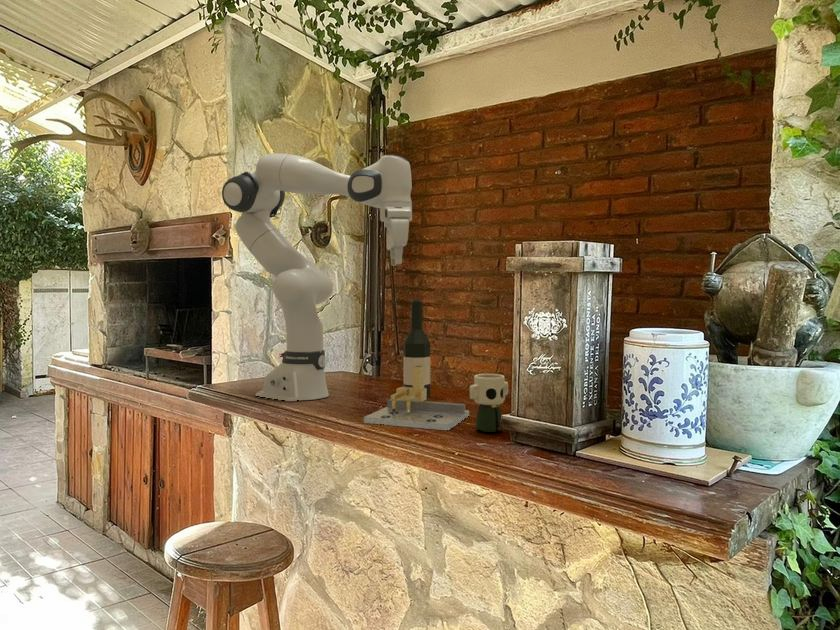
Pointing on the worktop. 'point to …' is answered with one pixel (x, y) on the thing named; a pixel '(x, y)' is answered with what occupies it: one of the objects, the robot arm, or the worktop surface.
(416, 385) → the sliding leg
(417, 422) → the flange plate
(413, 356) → the wine bottle
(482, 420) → the character mug
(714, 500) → the worktop surface
